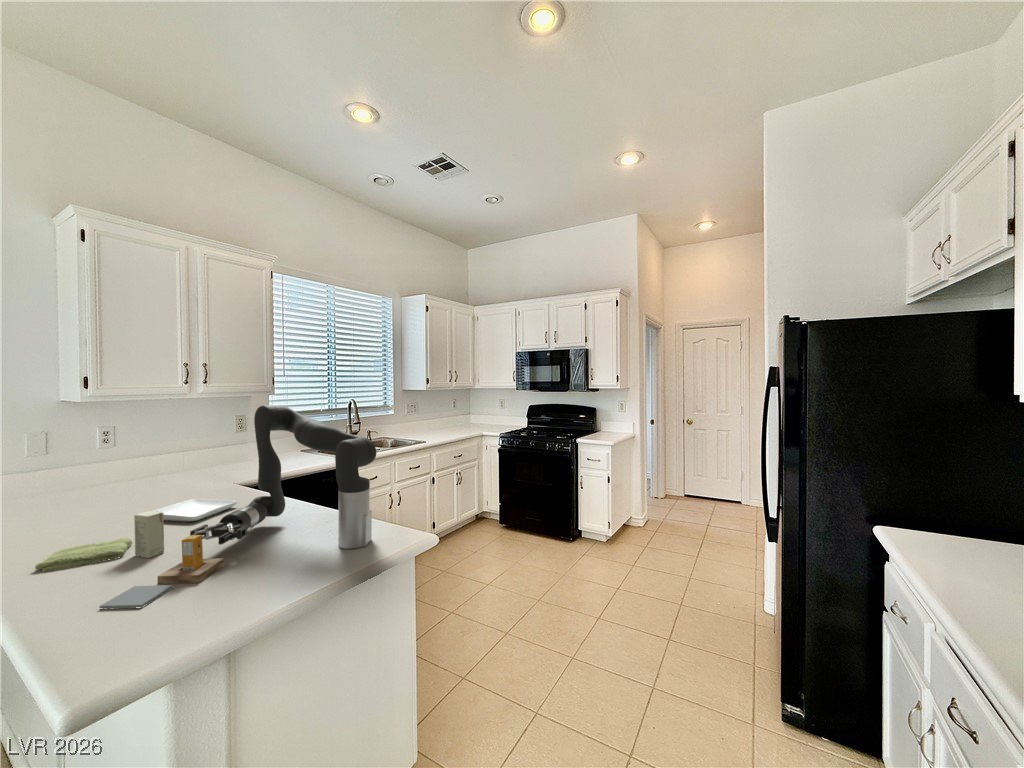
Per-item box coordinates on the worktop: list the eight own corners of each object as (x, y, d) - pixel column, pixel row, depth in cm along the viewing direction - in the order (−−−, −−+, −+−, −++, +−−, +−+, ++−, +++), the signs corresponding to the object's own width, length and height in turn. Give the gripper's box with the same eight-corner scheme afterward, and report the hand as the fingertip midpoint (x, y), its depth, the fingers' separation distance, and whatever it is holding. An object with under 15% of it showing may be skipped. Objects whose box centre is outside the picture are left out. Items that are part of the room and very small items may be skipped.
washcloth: (52, 558, 119) (52, 547, 119) (133, 545, 129) (133, 535, 129) (32, 575, 108) (32, 563, 108) (123, 560, 118) (123, 549, 118)
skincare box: (164, 552, 122) (165, 512, 122) (147, 558, 118) (148, 516, 118) (150, 550, 124) (151, 509, 124) (133, 555, 120) (133, 514, 120)
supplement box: (190, 571, 110) (190, 534, 110) (203, 571, 110) (203, 534, 110) (181, 577, 106) (181, 539, 106) (195, 577, 106) (195, 538, 107)
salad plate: (240, 507, 168) (240, 499, 168) (194, 525, 147) (194, 515, 147) (193, 506, 170) (193, 497, 170) (142, 523, 149) (142, 513, 149)
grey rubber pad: (172, 588, 101) (172, 585, 101) (141, 608, 92) (141, 604, 92) (134, 589, 100) (134, 586, 100) (99, 609, 91) (99, 606, 91)
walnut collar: (224, 565, 113) (224, 558, 113) (198, 582, 103) (198, 575, 103) (186, 566, 113) (186, 559, 113) (157, 584, 103) (157, 576, 103)
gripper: (216, 510, 128) (177, 528, 112) (263, 509, 129) (230, 527, 113) (216, 534, 128) (177, 555, 112) (263, 533, 129) (230, 554, 113)
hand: (203, 541), depth 112 cm, fingers open, 8 cm apart
